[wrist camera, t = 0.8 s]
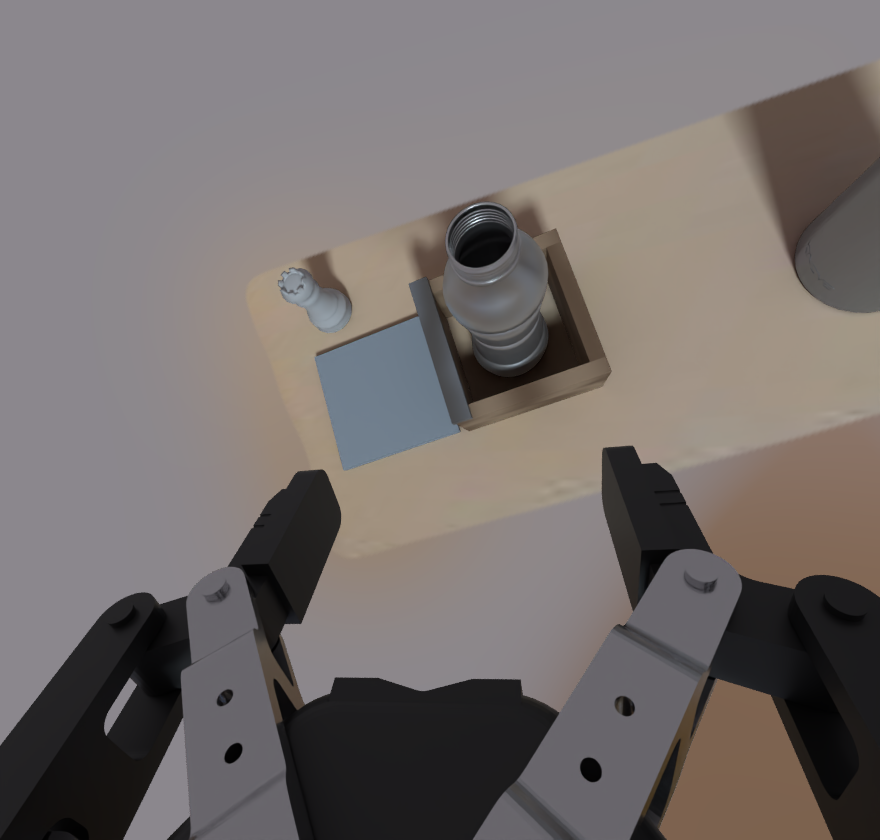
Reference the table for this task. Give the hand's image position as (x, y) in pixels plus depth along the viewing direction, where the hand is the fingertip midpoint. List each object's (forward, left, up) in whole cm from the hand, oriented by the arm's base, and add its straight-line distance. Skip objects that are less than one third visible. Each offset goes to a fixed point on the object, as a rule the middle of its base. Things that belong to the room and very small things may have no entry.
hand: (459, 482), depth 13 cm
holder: (-3, -12, -28) cm, 30 cm away
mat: (+10, -12, -28) cm, 32 cm away
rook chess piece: (+13, -22, -28) cm, 38 cm away
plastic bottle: (-3, -12, -28) cm, 31 cm away
